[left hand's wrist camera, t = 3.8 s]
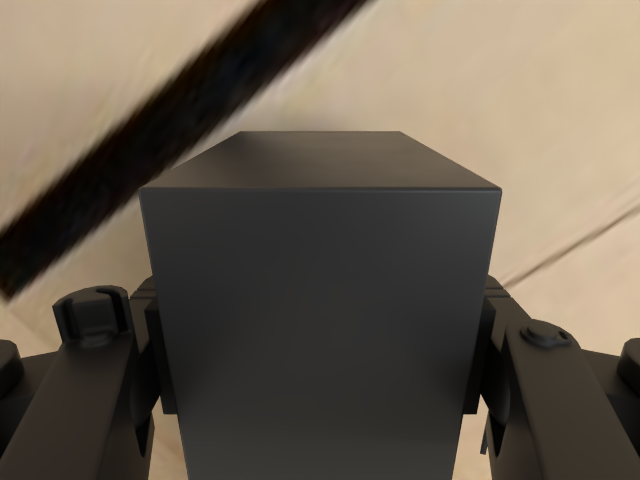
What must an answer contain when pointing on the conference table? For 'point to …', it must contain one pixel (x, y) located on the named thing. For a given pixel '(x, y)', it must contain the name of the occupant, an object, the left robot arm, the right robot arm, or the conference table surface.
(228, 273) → the bar
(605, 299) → the conference table surface
